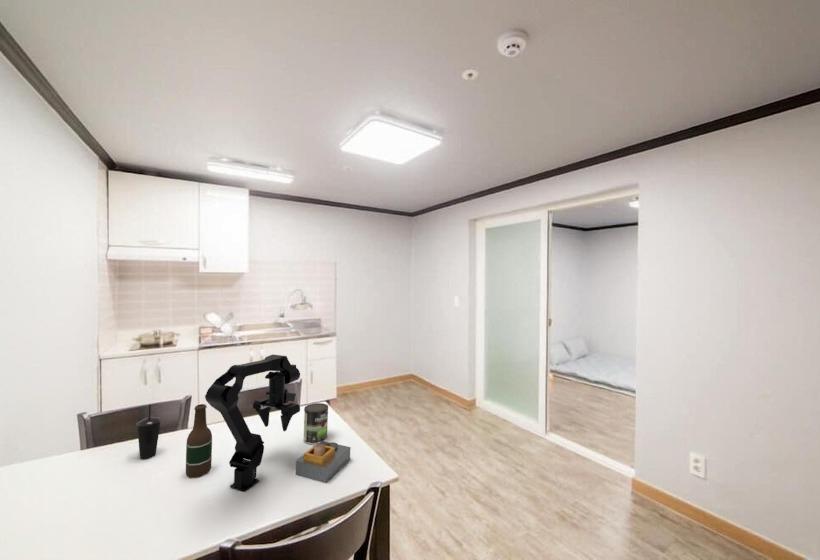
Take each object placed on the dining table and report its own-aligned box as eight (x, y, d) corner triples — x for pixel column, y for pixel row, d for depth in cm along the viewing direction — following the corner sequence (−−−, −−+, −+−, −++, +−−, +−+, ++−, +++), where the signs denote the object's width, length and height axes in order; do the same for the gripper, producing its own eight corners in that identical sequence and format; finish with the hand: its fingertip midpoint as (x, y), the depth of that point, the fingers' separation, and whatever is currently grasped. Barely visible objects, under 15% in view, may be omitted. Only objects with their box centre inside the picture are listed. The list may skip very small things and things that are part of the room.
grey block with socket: (325, 483, 111) (326, 461, 111) (295, 474, 116) (296, 453, 116) (350, 459, 126) (350, 440, 126) (322, 453, 131) (322, 434, 131)
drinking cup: (165, 451, 129) (167, 401, 130) (148, 462, 122) (149, 409, 122) (147, 450, 130) (149, 400, 130) (129, 460, 122) (131, 407, 123)
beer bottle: (198, 480, 112) (200, 410, 112) (179, 476, 113) (182, 408, 113) (216, 467, 119) (218, 402, 120) (198, 464, 121) (200, 400, 121)
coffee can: (332, 438, 144) (333, 406, 144) (312, 447, 136) (313, 413, 136) (317, 431, 150) (318, 401, 150) (298, 439, 142) (299, 407, 142)
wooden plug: (320, 475, 116) (321, 450, 116) (311, 473, 117) (311, 448, 117) (326, 469, 119) (327, 445, 120) (317, 467, 121) (318, 443, 121)
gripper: (310, 385, 128) (309, 425, 127) (274, 379, 135) (273, 416, 135) (289, 393, 117) (288, 437, 117) (252, 386, 125) (251, 427, 124)
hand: (275, 428), depth 123 cm, fingers open, 9 cm apart
